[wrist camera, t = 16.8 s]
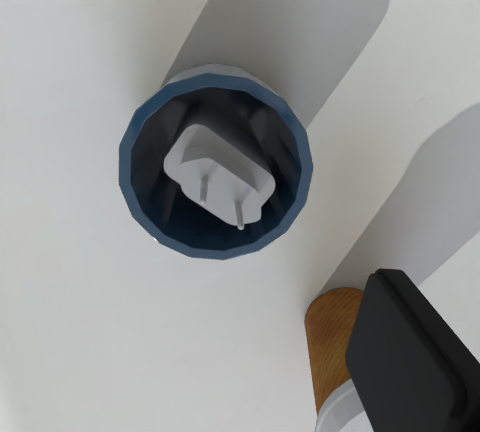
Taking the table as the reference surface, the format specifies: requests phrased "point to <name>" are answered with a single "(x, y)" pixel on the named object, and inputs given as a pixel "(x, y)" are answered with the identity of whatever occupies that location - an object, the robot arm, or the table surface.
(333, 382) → the disposable coffee cup
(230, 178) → the power adapter
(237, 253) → the desk cup
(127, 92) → the table surface
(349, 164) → the table surface
